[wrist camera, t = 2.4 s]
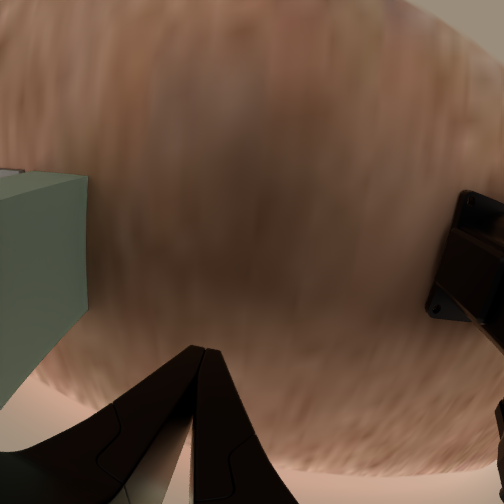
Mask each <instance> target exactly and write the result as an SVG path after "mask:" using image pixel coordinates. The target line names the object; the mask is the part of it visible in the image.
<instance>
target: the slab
mask: <svg viewBox="0 0 504 504" xmlns="http://www.w3.org/2000/svg"><path fill="white" fill-rule="evenodd" d="M87 189H88V176H82V175H73V174H63V173H53V172H42V171H30V172H25V173H20V174H16V175H11V176H6V177H2V178H0V410H1V409H2V407H3V406H4V405H5V404H6V403H7V401H8V400H9V399H10V398H11V396H12V395H13V394H14V393H15V392H16V390H17V389H18V388H19V386H20V385H21V384H22V383H23V382H24V381H25V379H26V378H27V377H28V376H29V375H30V374H31V372H32V371H33V370H34V369H35V368H36V367H37V365H38V364H39V363H40V362H41V361H42V360H43V359H44V357H45V356H46V355H47V354H48V353H49V352H50V351H51V350H52V348H53V347H54V346H55V345H56V344H57V343H58V342H59V341H60V340H61V338H62V337H63V336H64V335H65V334H66V333H67V332H68V331H69V330H70V329H71V328H72V327H73V325H74V324H75V323H76V322H77V321H78V320H79V319H80V318H81V317H82V316H83V315H84V314H85V313H86V312H87V311H88V297H87V278H86V208H87Z"/></svg>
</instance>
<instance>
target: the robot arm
mask: <svg viewBox="0 0 504 504" xmlns="http://www.w3.org/2000/svg"><path fill="white" fill-rule="evenodd" d="M469 197H470V198H471V202H470V204H469V205H468V199H469ZM436 305H437V307H436V309H434V310H433V308H434V306H436ZM425 310H426V312H427V313H428V315H429V316H430V317H432V318H437V319H446V320H455V321H464V322H473V323H474V324H475V325H476V326H477V327H478V328H479V329H480V330H481V331H482V332H483V333H484V334H485V335H486V337H487V338H488V339H489V340H490V341H491V342H492V343H493V344H494V345H495V346H496V347H497V348H498V349H499V351H500V352H501V353H502V354H503V355H504V204H503V203H500V202H498V201H496V200H493V199H491V198H489V197H486V196H484V195H481V194H479V193H476V192H474V191H470V190H465V191H463V192H462V193H461V195H460V198H459V202H458V206H457V210H456V214H455V218H454V221H453V225H452V229H451V231H450V233H449V237H448V240H447V244H446V247H445V250H444V253H443V256H442V259H441V262H440V265H439V268H438V271H437V274H436V277H435V282H434V284H433V287H432V290H431V293H430V295H429V298H428V300H427V303H426V306H425ZM495 416H496V420H497V425H498V430H499V435H500V442H499V445H498V459H497V467H498V471H499V475H500V480H501V484H502V488H501V489H500V493H499V495H500V498H501V500H502V501H503V503H504V398H503V400H501V401H500V402H499V404H498V406H497V408H496V410H495ZM192 419H193V424H192V440H191V461H190V487H189V504H299V503H298V502H297V500H296V499H295V498H294V496H293V495H292V494H291V492H290V491H289V489H288V488H287V487H286V485H285V484H284V482H283V481H282V480H281V478H280V477H279V475H278V474H277V472H276V470H275V469H274V467H273V466H272V464H271V463H270V461H269V459H268V457H267V455H266V453H265V451H264V450H263V448H262V446H261V443H260V441H259V439H258V437H257V435H256V434H255V431H254V428H253V426H252V424H251V422H250V419H249V417H248V415H247V413H246V410H245V408H244V406H243V403H242V401H241V399H240V396H239V394H238V392H237V389H236V387H235V385H234V382H233V380H232V377H231V375H230V373H229V370H228V368H227V365H226V363H225V360H224V358H223V355H222V353H221V351H220V350H215V349H210V348H207V349H206V350H205V348H204V347H200V346H195V345H190V346H188V347H187V348H186V349H184V350H183V351H182V352H180V353H179V354H178V355H176V356H175V357H174V358H172V359H171V360H170V361H168V362H167V363H166V364H164V365H163V366H162V367H160V368H159V369H157V370H156V371H155V372H153V373H152V374H151V375H149V376H148V377H146V378H145V379H144V380H142V381H141V382H140V383H138V384H137V385H135V386H134V387H133V388H131V389H130V390H128V391H127V392H126V393H124V394H123V395H121V396H120V397H119V398H117V399H116V400H114V401H113V403H110V404H109V405H107V406H106V407H104V408H103V409H101V410H100V411H98V412H97V413H95V414H94V415H92V416H91V417H89V418H88V419H86V420H84V421H82V422H80V423H79V424H77V425H75V426H73V427H71V428H69V429H67V430H65V431H64V432H61V433H59V434H57V435H55V436H53V437H51V438H49V439H47V440H45V441H43V442H41V443H39V444H36V445H34V446H32V447H30V448H27V449H24V450H20V451H15V452H0V504H162V502H163V499H164V497H165V494H166V491H167V488H168V486H169V483H170V480H171V478H172V475H173V472H174V470H175V467H176V464H177V461H178V459H179V456H180V453H181V451H182V448H183V445H184V442H185V440H186V437H187V434H188V432H189V429H190V426H191V423H192Z"/></svg>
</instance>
